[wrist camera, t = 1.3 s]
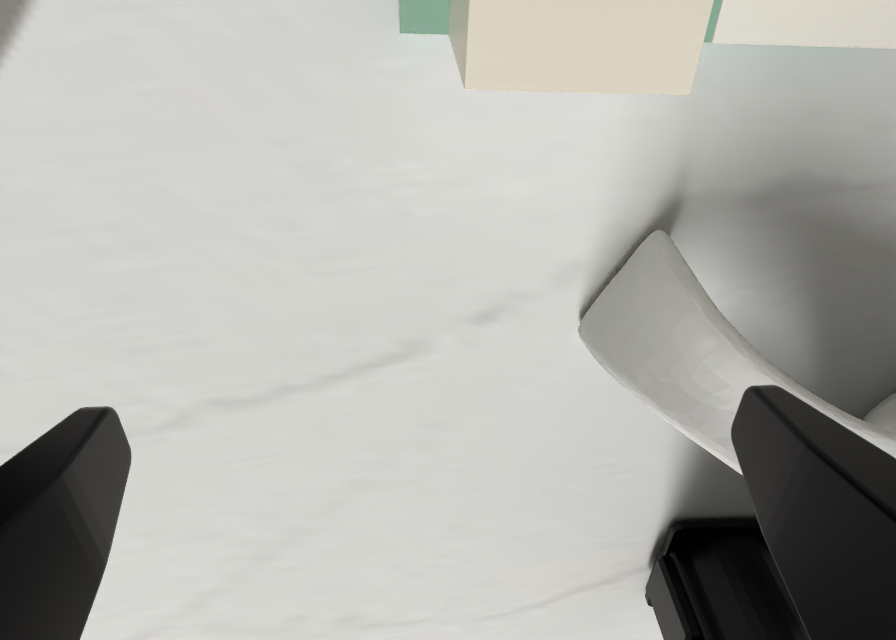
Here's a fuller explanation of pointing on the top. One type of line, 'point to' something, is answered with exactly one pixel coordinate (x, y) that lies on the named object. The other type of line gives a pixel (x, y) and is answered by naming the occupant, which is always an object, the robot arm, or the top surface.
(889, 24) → the header board
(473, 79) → the block
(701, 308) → the spoon rest
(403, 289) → the top surface
